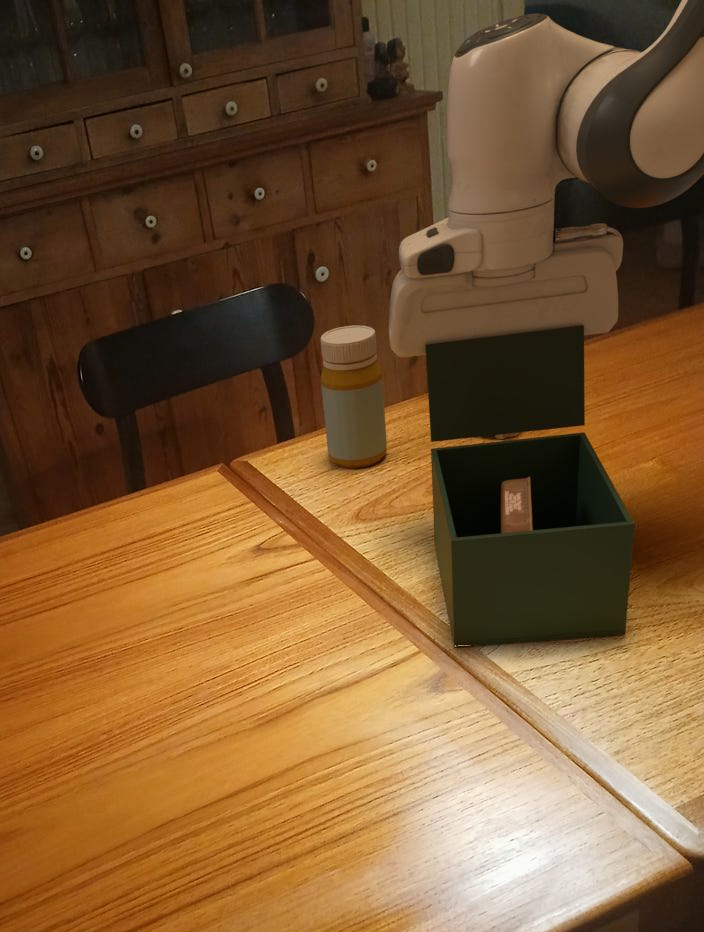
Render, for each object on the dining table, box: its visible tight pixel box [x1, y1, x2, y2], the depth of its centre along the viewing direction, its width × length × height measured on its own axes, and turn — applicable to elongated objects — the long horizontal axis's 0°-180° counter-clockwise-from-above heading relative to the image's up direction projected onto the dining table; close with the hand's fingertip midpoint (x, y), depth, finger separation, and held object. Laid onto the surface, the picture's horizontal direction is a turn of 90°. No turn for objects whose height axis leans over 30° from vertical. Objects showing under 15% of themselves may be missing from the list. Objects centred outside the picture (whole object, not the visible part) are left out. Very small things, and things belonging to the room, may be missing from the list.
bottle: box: [320, 325, 388, 469], centre depth 115 cm, size 7×7×15 cm
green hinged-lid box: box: [430, 431, 636, 647], centre depth 88 cm, size 14×18×10 cm
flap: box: [425, 325, 586, 443], centre depth 90 cm, size 14×9×1 cm
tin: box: [501, 477, 533, 533], centre depth 88 cm, size 15×3×8 cm, turn 167°
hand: (499, 388), depth 94 cm, fingers closed
